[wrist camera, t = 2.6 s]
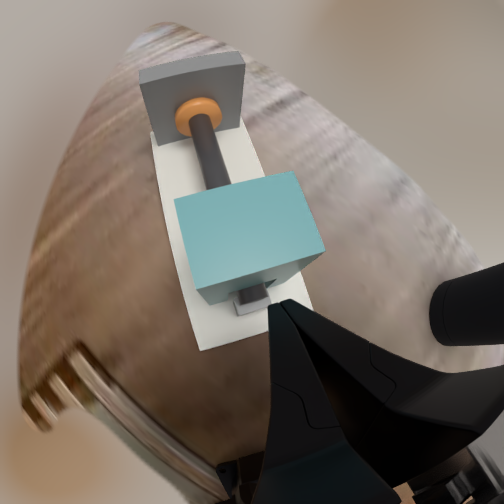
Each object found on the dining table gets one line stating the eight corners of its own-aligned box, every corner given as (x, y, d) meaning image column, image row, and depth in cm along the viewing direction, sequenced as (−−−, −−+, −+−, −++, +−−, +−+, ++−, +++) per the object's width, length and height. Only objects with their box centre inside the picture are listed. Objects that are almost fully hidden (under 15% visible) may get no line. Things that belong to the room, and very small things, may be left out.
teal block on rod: (283, 283, 18) (325, 250, 10) (209, 305, 17) (195, 289, 9) (266, 232, 19) (293, 170, 11) (194, 252, 18) (173, 199, 10)
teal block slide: (308, 315, 19) (363, 306, 11) (202, 349, 18) (183, 367, 10) (238, 122, 23) (244, 49, 15) (153, 142, 22) (131, 71, 14)
